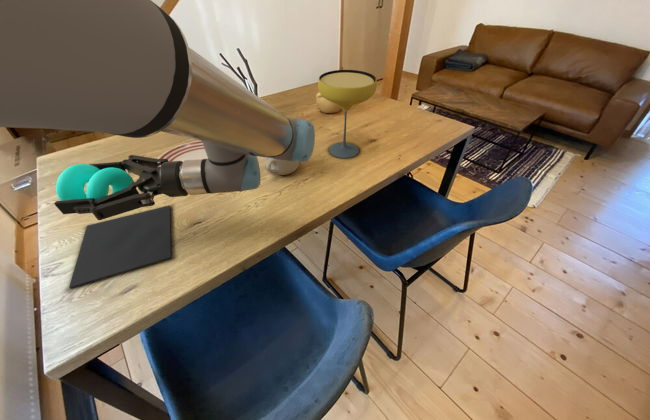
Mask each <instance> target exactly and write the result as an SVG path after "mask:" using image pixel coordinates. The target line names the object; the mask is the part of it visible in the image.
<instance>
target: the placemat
mask: <svg viewBox="0 0 650 420" xmlns="http://www.w3.org/2000/svg"><path fill="white" fill-rule="evenodd" d="M171 221H172V220H171V205H165V206H161V207H158V208H154V209H149V210H145V211H141V212H137V213H133V214H129V215H125V216H120V217H117V218H112V219H109V220H105V221H101V222H96V223H92V224H89V225H86V227H85V228H86V229H85V232H84V235H83V238H82V242H81V246H80V249H79V252H78V255H77V258H76V262H75V265H74V269H73V272H72V275H71V279H70V283H69V286H68V287H69V289H75V288H78V287H81V286H84V285H87V284H92V283H94V282H98V281H101V280H105V279H108V278H112V277H114V276H118V275H121V274H124V273H127V272H132V271H135V270H138V269H141V268H145V267H148V266H151V265H155V264H159V263H161V262H165V261H168V260H172V222H171Z"/></svg>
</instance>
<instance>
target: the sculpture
mask: <svg viewBox="0 0 650 420" xmlns="http://www.w3.org/2000/svg"><path fill="white" fill-rule="evenodd" d="M315 99H316V104H317V106H318V108H319V110H320V111H321V112H323V113H324V114H325V113H326V114H334V113H338V112H340V111H341V110H342V108H341V107H340V106H339V105H338V104H335V103H333V102H331V101H329V100H327V99H325V98H324V97H323V96H322V95H321V94H320V92H319V91H318V92H317V93H316V95H315Z"/></svg>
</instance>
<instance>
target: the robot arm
mask: <svg viewBox="0 0 650 420" xmlns="http://www.w3.org/2000/svg"><path fill="white" fill-rule="evenodd" d="M0 128H13V129H14V128H15V129H16V128H18V129H20V128H21V129H44V130H45V129H46V130H62V131H80V132H92V133H101V134H108V135H114V136H119V137H124V138H132V139H143V138H148V137H152V136H154V135H157V134H159V133H160V132H162V133H166V134H169V135H174V136H180V137H184V138H188V139H192V140H195V141H198V140H200V141H202V143H203V146H204V148H205V151H206V154H207V157H208V159H196V160H185V161H184V162H182V161H172V162H169V161H168V159H157V158H155V157H148V156H142V155H135V154H130V155H128V159H127V158H126V159H123V160H122V161H113V162H102V163H101V162H100V163H89V165H92V166H95V167H97V168H98V169H100V170H102V169H105V168H119V169H122V170H124V171H125V172H127V173H128V174H129V175H130V174H134V175H136V176H138V179H136V181H134V183H131V184H130V185H129V187H127V188H125V189H122V190H120V191H118V192H115V193H113V194H112V193H110V194H108V196H105V197H103V198H100V199H98V200H95V199H94V198H86V199H75V200H64V201H60V200H56V201H55V202H54V203H53V204H54V206H55V207H56V208H57V209H58V210H59V211H60V213H61V214H62V215H70V214H71V215H72V214H78V215H85V214H92V215H93V216H94V218H95V219H97V220H96V221H103V220H106V219H109V218H112V217H115V216H120V215H121V214H124V213H125V214H126V213H129V212H131V211H135V210H138V209H140V208H147V207H152V206H155V204H156V202H155V200H154V198H155V197H157V196H158V195H164V196H167V197H169V198H177V197H178V198H179V197H187V196H188V195H189V196H198V195H199V196H200V195H207V194H208V195H209V194H210V195H211V194H221V193H235V192H239V193H241V192H246V191H251V190H256V189H258V188H259V187H260V185H261V181H262V180H261V168H260V163H259V160H258V157H260V158H266V157H267V158H273V159H280V160H287V161H292V162H294V161H298V162H299V163H306V162H308V161H309V160H310V159H311V158H312V155H313V152H314V148H315V141H316V140H315V139H316V131H315V127H314V125H313V123H312V121H309V120H305V119H300V118H299V117H296V118H290V117H287V116H286V115H284V114H283V113H281V112H280V111H279V110H277V109H276V108H275V107H273V106H272V105H270V104H269V103H268V102H266V101H265V100H264V99H262V98H261V97H259V96H258V95H256V94H255V93H254V92H252V91H251V90H250V89H248V88H246V86H244V85H243V84H241V83H240V82H238V81H237V80H235V79H234V78H233V77H231V76H230V75H228V74H227V73H225V72H224V71H223V70H222V69H220V68H219V67H217V66H216V65H214V63H212V62H210V61H209V60H208V59H206V58H205V57H203V56H202V55H201V54H199V53H198V52H197V51H195V50H194V49H192V48H191V47H189V43H188V41H187V39H186V37H185V34H184V32H183V31H182V29H181V27H180V25H178V23H177V22H176V21H175V19H174V18H172V17H171V15H170V14H168V13H167V12H166V10H164V9H163V8H161V7H160V6H159V5H158V4H157V3H155V2H154V1H153V0H0ZM137 188H138V189H137ZM101 204H102V205H101Z"/></svg>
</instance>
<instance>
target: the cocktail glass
mask: <svg viewBox="0 0 650 420" xmlns="http://www.w3.org/2000/svg"><path fill="white" fill-rule="evenodd" d="M377 86H378V81H377V76H375V75H374V74H372V73H370V72H367V71H363V70H356V69H336V70H331V71H330V70H329V71H327V72H324V73H322V74H320V75H319V77H318V80H317V88H318V92H320V94H321V95H322V96H323V97H324V98H325V99H327V100H329V101H331V102H333V103H335V104H338V105H339V106H340V107H341V110H342V111H343V112H344V125H343V139H342V142H337V143H334V144H332V145H331V146H330V147H329V151H328V152H329V153H330V155H332V157H333V156H334V157H335V158H338V159H350V158H351V159H352V158H354V157H356V156H357V155H358V154H359V153H360V150H359V147H358V146H357V145H355V144H353V143H350V142H347V118H348V117H347V115H348V111H350V110H351V108H352V107H354V106H355V105H358V104H361V103H364V102H366V101H368V100H369V99H371V98H372V97H373V96H374V95H375V94H376V90H377Z"/></svg>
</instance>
